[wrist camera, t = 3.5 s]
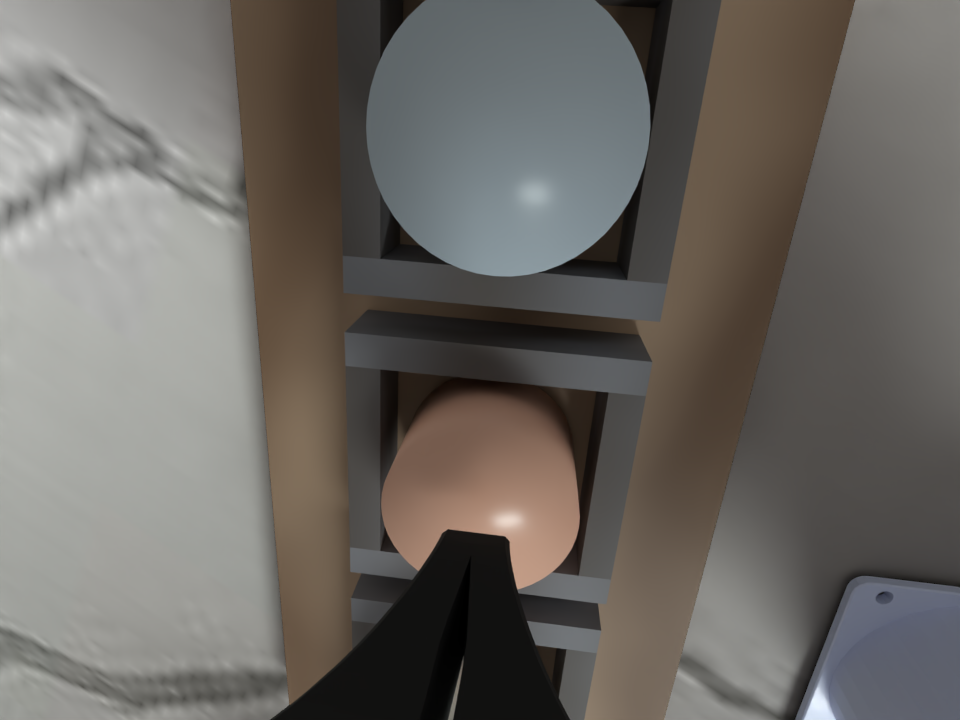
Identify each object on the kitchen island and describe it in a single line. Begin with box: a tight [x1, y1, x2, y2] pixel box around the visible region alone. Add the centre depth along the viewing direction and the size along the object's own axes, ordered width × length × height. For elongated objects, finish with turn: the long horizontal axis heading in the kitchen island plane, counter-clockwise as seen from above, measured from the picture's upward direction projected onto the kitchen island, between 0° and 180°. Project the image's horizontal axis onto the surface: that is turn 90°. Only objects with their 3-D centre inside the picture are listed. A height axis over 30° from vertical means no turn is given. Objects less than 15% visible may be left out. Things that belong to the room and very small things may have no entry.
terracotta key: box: [381, 377, 580, 589], centre depth 15 cm, size 5×5×3 cm
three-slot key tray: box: [230, 0, 855, 720], centre depth 17 cm, size 14×26×3 cm, turn 176°
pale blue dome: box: [366, 0, 650, 277], centre depth 11 cm, size 5×5×3 cm
